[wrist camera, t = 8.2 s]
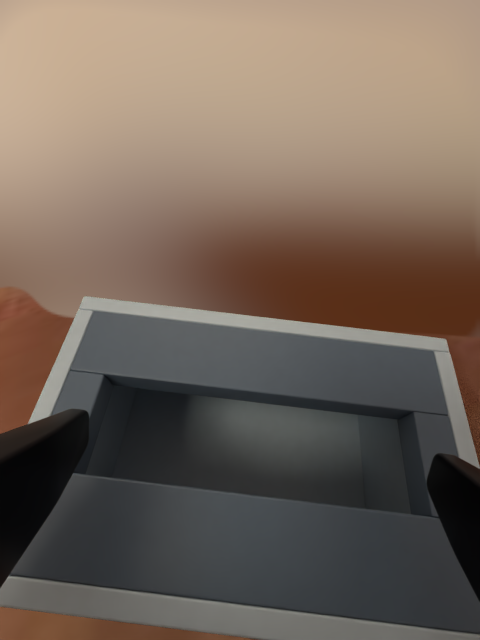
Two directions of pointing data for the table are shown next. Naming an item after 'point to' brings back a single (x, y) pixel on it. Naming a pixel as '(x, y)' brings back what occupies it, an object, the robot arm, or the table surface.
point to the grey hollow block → (251, 479)
